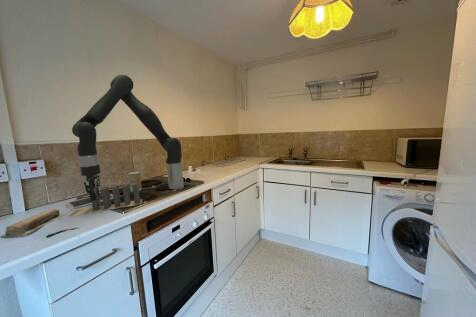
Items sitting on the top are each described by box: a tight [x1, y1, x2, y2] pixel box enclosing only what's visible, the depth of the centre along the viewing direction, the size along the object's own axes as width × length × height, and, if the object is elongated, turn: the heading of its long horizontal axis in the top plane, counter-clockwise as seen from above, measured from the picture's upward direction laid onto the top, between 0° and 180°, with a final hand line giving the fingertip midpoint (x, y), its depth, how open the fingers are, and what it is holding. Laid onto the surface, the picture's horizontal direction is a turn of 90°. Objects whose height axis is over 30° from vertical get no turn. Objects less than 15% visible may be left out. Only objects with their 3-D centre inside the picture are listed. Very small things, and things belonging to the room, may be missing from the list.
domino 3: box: [111, 184, 122, 207], centre depth 97 cm, size 2×5×10 cm, turn 22°
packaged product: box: [0, 208, 67, 239], centre depth 81 cm, size 18×5×10 cm
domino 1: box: [90, 186, 101, 209], centre depth 94 cm, size 2×5×10 cm, turn 22°
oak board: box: [68, 198, 143, 217], centre depth 96 cm, size 30×8×1 cm, turn 112°
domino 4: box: [122, 183, 132, 207], centre depth 99 cm, size 2×5×10 cm, turn 22°
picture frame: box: [64, 191, 114, 211], centre depth 108 cm, size 16×3×21 cm
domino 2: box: [100, 186, 112, 209], centre depth 95 cm, size 2×5×10 cm, turn 21°
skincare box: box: [127, 171, 143, 193], centre depth 126 cm, size 6×4×12 cm
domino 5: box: [133, 183, 141, 205], centre depth 100 cm, size 2×5×10 cm, turn 22°
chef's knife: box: [45, 227, 79, 239], centre depth 78 cm, size 19×1×3 cm
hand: (95, 198), depth 94 cm, fingers closed on domino 1, 4 cm apart
